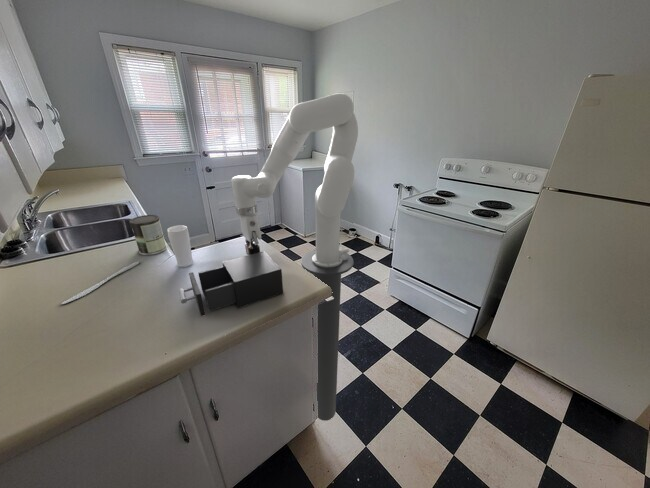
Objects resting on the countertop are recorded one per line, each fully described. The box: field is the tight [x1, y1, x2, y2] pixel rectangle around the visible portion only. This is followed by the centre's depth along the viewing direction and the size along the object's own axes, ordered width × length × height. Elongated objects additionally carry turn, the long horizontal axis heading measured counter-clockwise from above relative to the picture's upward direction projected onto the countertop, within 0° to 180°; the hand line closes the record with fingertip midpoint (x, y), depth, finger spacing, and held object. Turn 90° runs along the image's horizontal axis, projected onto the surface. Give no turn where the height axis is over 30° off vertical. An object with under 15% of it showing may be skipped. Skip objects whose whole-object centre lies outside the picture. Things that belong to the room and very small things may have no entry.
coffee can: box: [129, 214, 168, 256], centre depth 113 cm, size 10×10×14 cm
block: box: [244, 242, 261, 256], centre depth 106 cm, size 4×4×4 cm
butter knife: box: [61, 261, 140, 305], centre depth 93 cm, size 1×27×3 cm
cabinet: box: [221, 251, 284, 309], centre depth 88 cm, size 15×15×9 cm
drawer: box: [177, 265, 237, 317], centre depth 82 cm, size 18×13×7 cm
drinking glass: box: [166, 224, 194, 268], centre depth 101 cm, size 7×7×15 cm
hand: (253, 253), depth 107 cm, fingers closed on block, 4 cm apart
